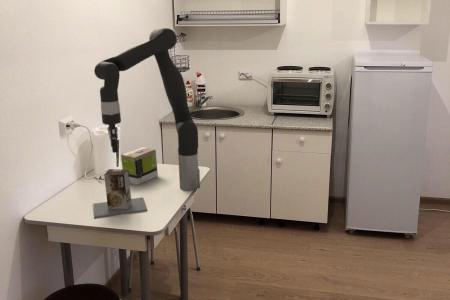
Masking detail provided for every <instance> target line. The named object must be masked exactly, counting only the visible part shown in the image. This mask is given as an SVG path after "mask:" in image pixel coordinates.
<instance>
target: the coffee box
mask: <svg viewBox="0 0 450 300" xmlns="http://www.w3.org/2000/svg"><path fill="white" fill-rule="evenodd" d="M103 177H104V183H105V185H104V186H105V195H106V202H107V204H108V209H128V208H129V207H130V205H131V204H132V202H131V199H132V193H131V183H130V181H129V171H128V170H126V169H121V168H120V169H117V168H116V169H112V168H110V169H108V170H106V172H105V173H104V174H103Z"/></svg>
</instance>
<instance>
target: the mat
mask: <svg viewBox="0 0 450 300" xmlns="http://www.w3.org/2000/svg"><path fill="white" fill-rule="evenodd" d="M131 202H132V204H131V205H130V207H129V208H128V209H108V204H107V201H105V202H104V201H103V202H102V201H101V202H97V203H93V217H94V219H100V218H107V217H113V216H121V215H128V214H137V213H143V212H148V207H147V205H146V202H145V199H144V197H143V196H142V197H136V198H131Z"/></svg>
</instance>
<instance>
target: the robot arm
mask: <svg viewBox="0 0 450 300" xmlns="http://www.w3.org/2000/svg"><path fill="white" fill-rule="evenodd" d="M177 38H178V37H177V34H176V32H175V30H173V29H171V28H169V27H165V28H157V29H154V30H152V31H151V32H150V34H149V38H148V41H145V42H143V43H141V44H138V45H135V46H133V47H130V48H128V49H126V50H125V51H122V52H121V53H119V54H117V55H115V56H111V57H108V58H106V59H104V60H102V61H101V60H100V61H99V62H98V63H97V64H96V65H95V67H94V70H93V71H94V75H95V76H96V78H97V79H99V80H104V81H103V86H101V87H100V88H99V95H100V96H99V97H100V112H101V113H100V114H101V121H102V124H104V125H108V126H107V134H108V136H109V140H110V146H111V148H112V149H111V151H112V153H115V154H116V153H119V149H118V147H119V146H118V144H119V141H118V139H119V133H118V131H119V130H118V125H117V124H120V123H121V122H122V118H121V116H122V115H121V106H120V101H119V93H118V92H119V91H118V90H119V84H120V83H119V82H120V75H121V73H120V72H125V71H127V70H129V69H131V68H134V67H135V66H136V65H138V64H140V63H142V62H143V61H145V60H146V59H148V58H151V57H154V59H155V61H156V64H157V66H158V70H159V73H160V77H161V79H162V83H163V87H164V91H165V94H166V97H167V100H168V102H169V105H170V107H171V110H172V112H173V118H174V121H175V131H176V132H177V140H178V142H177V143H178V148H177V157H178V158H177V159H178V174H179V177H178V178H179V189H180V190H182V191H186V192H187V191H189V192H190V191H196V190H198V189H201V176H200V168H199V156H198V155H199V154H198V153H199V152H198V151H199V130H198V127H197V124H195V122H194V120H193V117H192V115H191V111H190V109H189V104H188V95H187V94H188V93H187V87H186V84H185V81H184V77H183V75H182V73H181V71H180V70H179V69H178V68H177V66H176V64H175V63H174V62H173V60H172V59H171V56H170V52H169V50H171V49H173V48H174V47H176V44H177V40H178V39H177Z"/></svg>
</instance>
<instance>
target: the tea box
mask: <svg viewBox="0 0 450 300" xmlns="http://www.w3.org/2000/svg"><path fill="white" fill-rule="evenodd" d="M120 158H121V159H120V160H121V167H122V169H126V170H128V171H129V181H130V185H134V186H139V185H141V184H143V183H146V182H148V181H150V180H152V179H155V178H157V177H158V176H159V173H158V172H159V171H158V161H157V150H156V149H154V148H149V147H145V146H140V147H138V148H135V149H132V150H129V151H127V152H123V153H122V154H120Z"/></svg>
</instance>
